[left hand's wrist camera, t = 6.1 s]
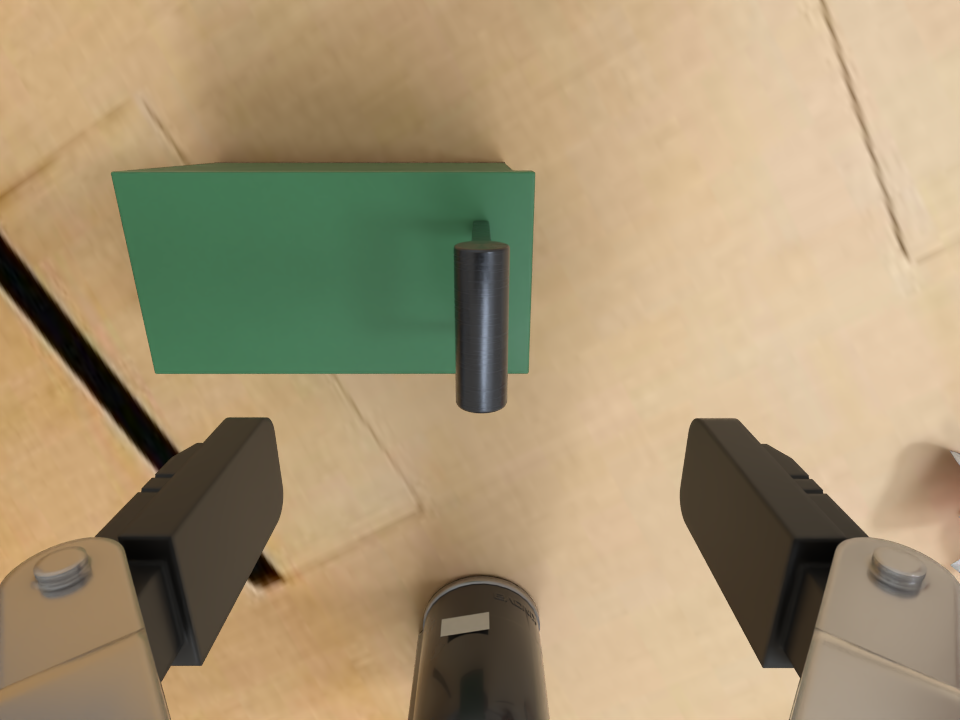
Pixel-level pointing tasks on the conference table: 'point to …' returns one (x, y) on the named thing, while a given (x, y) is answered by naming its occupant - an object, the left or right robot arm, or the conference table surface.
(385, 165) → the chest
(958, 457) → the fish
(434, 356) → the lid
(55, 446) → the conference table surface
